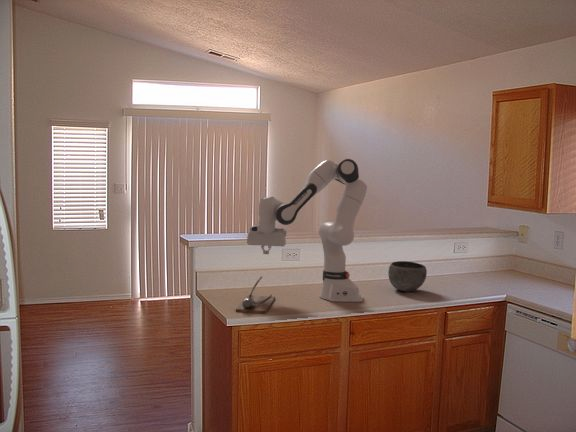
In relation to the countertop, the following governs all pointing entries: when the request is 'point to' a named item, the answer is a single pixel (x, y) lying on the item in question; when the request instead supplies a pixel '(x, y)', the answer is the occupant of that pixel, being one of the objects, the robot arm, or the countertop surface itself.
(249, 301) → the juicer
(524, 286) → the countertop surface
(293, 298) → the countertop surface
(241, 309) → the rest board
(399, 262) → the bowl
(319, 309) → the countertop surface
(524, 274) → the countertop surface
